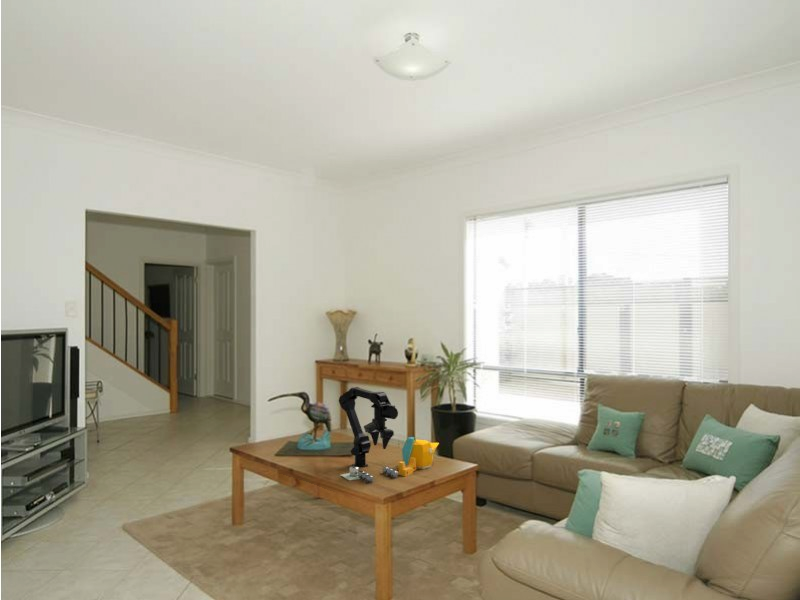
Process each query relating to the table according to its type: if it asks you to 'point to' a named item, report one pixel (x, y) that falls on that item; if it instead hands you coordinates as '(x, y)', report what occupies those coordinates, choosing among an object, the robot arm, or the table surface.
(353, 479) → the sage mat
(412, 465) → the pipe clamp
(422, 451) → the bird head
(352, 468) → the stepped steel cylinder
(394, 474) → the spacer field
